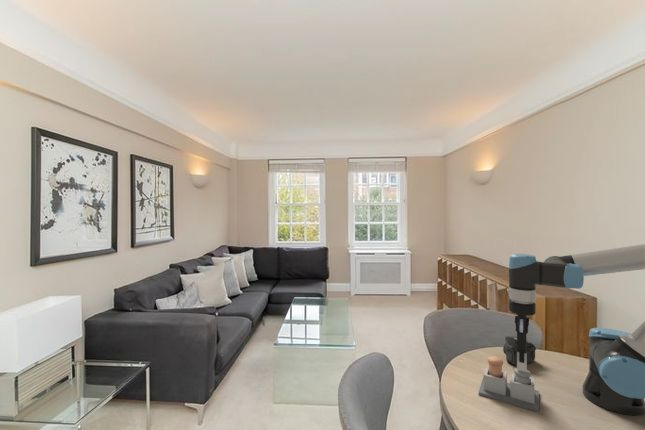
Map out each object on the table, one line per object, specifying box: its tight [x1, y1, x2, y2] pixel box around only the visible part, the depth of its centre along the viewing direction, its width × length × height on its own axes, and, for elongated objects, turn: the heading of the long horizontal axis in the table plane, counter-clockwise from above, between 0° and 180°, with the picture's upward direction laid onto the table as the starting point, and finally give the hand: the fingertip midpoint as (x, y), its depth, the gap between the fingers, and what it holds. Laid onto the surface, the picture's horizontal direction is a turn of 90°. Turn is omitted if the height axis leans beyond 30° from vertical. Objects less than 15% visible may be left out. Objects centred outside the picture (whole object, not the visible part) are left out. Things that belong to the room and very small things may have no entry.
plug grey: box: [513, 367, 532, 385], centre depth 105 cm, size 5×5×6 cm
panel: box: [478, 366, 540, 413], centre depth 107 cm, size 17×12×6 cm
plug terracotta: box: [487, 356, 504, 378], centre depth 109 cm, size 5×5×6 cm
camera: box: [502, 335, 537, 367], centre depth 130 cm, size 13×10×10 cm
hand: (521, 370), depth 105 cm, fingers closed
